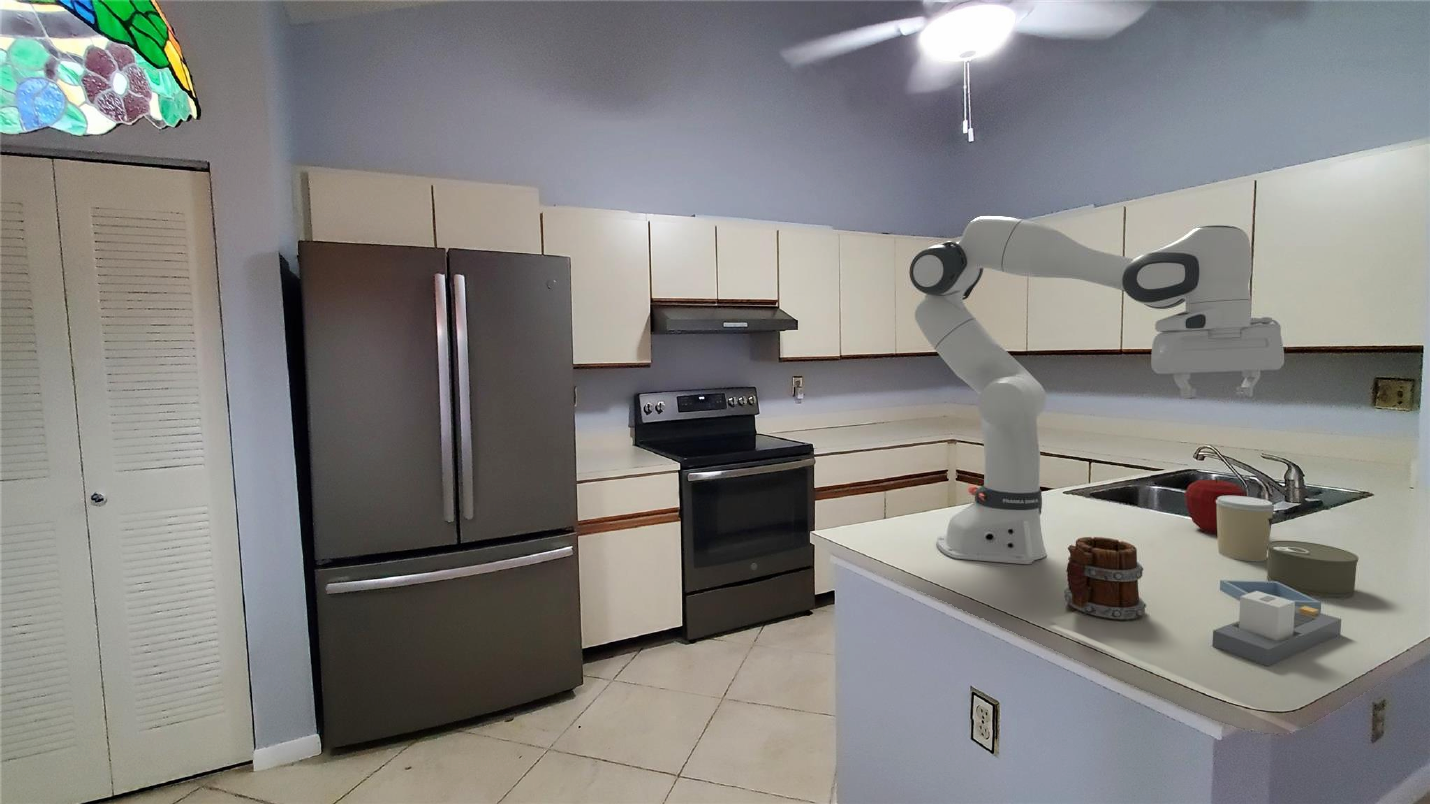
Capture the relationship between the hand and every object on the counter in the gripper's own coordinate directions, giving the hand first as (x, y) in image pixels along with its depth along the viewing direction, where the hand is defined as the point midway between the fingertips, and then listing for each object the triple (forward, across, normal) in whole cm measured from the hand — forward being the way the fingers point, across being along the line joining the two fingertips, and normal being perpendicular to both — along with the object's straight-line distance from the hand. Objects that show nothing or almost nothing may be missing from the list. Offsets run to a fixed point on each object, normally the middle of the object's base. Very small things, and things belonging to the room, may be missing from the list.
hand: (1216, 397), depth 107 cm
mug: (+36, +25, +9) cm, 44 cm away
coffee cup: (+36, -21, -22) cm, 47 cm away
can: (+36, -20, -4) cm, 42 cm away
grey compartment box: (+36, +3, +18) cm, 40 cm away
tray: (+36, -6, +5) cm, 37 cm away
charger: (+35, +8, +21) cm, 41 cm away
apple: (+36, -28, -39) cm, 60 cm away
